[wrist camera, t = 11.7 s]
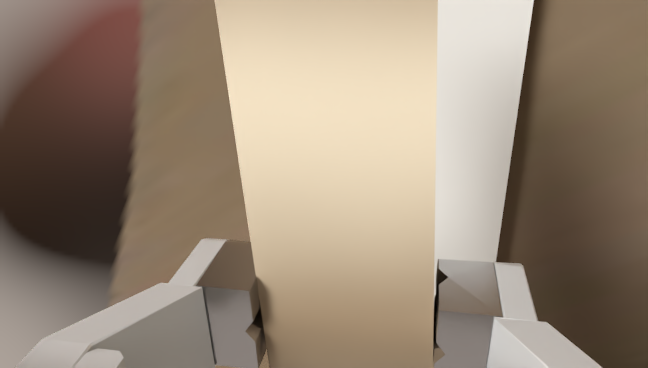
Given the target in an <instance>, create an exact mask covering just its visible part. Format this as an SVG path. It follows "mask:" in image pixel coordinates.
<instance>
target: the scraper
mask: <svg viewBox="0 0 648 368" xmlns="http://www.w3.org/2000/svg"><path fill="white" fill-rule="evenodd" d="M215 6H216V12H217V19H218V26H219V33H220V39H221V46H222V53H223V59H224V66H225V73H226V79H227V86H228V93H229V99H230V106H231V113H232V120H233V126H234V133H235V140H236V146H237V153H238V160H239V166H240V173H241V180H242V187H243V193H244V200H245V207H246V213H247V220H248V227H249V233H250V240H251V247H252V254H253V260H254V267H255V274H256V276H257V283H258V293H259V300H260V307H261V314H262V321H263V327H264V334H265V341H266V347H267V354H268V361H269V367H270V368H433V326H434V251H435V175H436V100H437V25H438V0H215Z"/></svg>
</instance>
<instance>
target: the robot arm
mask: <svg viewBox="0 0 648 368" xmlns="http://www.w3.org/2000/svg"><path fill="white" fill-rule="evenodd" d="M266 349H267V347H266V341H265V334H264V327H263V321H262V314H261V307H260V300H259V293H258V283H257V276H256V274H255V267H254V260H253V254H252V247H251V242H246V241H237V240H227V239H216V238H205V239H202V240H201V241H200V242H199V243H198V245H197V246H196V247H195V249H194V250H193V251H192V253H191V254H190V255H189V257H188V258H187V259H186V261H185V262H184V263H183V264H182V266H181V267H180V268H179V270H178V271H177V272H176V274H175V275H174V276H173V278H172V279H171V280H170V282H169V283H160V284H157V285H155V286H153V287H151V288H149V289H147V290H145V291H143V292H141V293H138V294H136V295H134V296H132V297H130V298H128V299H126V300H124V301H121V302H119V303H117V304H115V305H113V306H111V307H109V308H107V309H105V310H102V311H100V312H99V313H96V314H94V315H92V316H90V317H88V318H86V319H83V320H81V321H79V322H77V323H75V324H73V325H71V326H69V327H67V328H65V329H62V330H60V331H58V332H56V333H54V334H52V335H50V336H47V337H45V338H43V339H42V340H41V341H40V342H39V343H38V344H37V345H36V346H35V347H34V348H33V349H32V350H31V351H30V352H29V353H28V354H27V355H26V356H25V358H24V359H23V360H22V361H21V362H20V363H19V364H18V365H17V366H16V367H15V368H215V365H220V366H230V367H240V368H259V366H260V364H261V361H262V359H263V356H264V354H265V352H266ZM433 368H602V367H601V366H600V365H599V364H597V363H596V362H595V361H594V360H593V359H591V358H590V357H589V356H588V355H586V354H585V353H584V352H583V351H582V350H580V349H579V348H578V347H577V346H575V345H574V344H573V343H572V342H571V341H569V340H568V339H567V338H566V337H564V336H563V335H562V334H561V333H560V332H558V331H557V330H556V329H555V328H553V327H552V326H551V325H550V324H549V323H547V322H540V321H538V318H537V314H536V310H535V307H534V303H533V299H532V296H531V292H530V288H529V284H528V281H527V277H526V273H525V270H524V266H523V265H522V264H521V263H503V262H479V261H463V260H448V259H438V263H437V273H436V295H435V296H434V326H433Z"/></svg>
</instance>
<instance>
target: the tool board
mask: <svg viewBox="0 0 648 368" xmlns="http://www.w3.org/2000/svg"><path fill="white" fill-rule="evenodd" d="M533 2H534V0H438V25H437V100H436V175H435V251H434V296H435V295H436V273H437V263H438V259H448V260H463V261H479V262H496V257H497V250H498V244H499V237H500V230H501V223H502V216H503V209H504V202H505V195H506V188H507V182H508V175H509V168H510V161H511V154H512V147H513V140H514V133H515V126H516V120H517V113H518V106H519V99H520V92H521V85H522V78H523V71H524V64H525V58H526V51H527V44H528V37H529V30H530V23H531V16H532V9H533Z"/></svg>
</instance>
